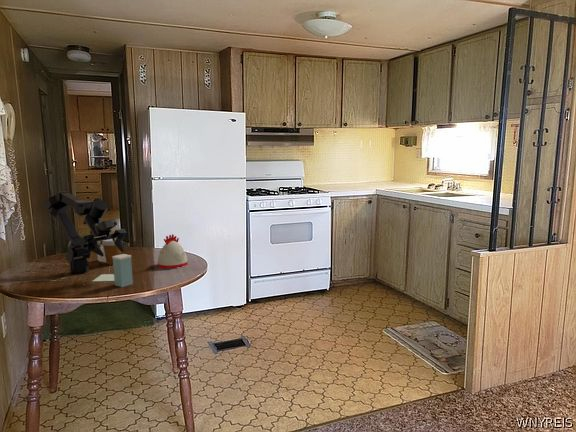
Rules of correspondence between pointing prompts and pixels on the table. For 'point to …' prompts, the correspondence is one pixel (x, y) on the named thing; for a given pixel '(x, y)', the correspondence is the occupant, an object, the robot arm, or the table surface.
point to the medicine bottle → (100, 258)
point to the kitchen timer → (172, 254)
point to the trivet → (104, 278)
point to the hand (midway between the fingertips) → (113, 253)
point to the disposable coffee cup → (110, 250)
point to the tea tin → (122, 270)
